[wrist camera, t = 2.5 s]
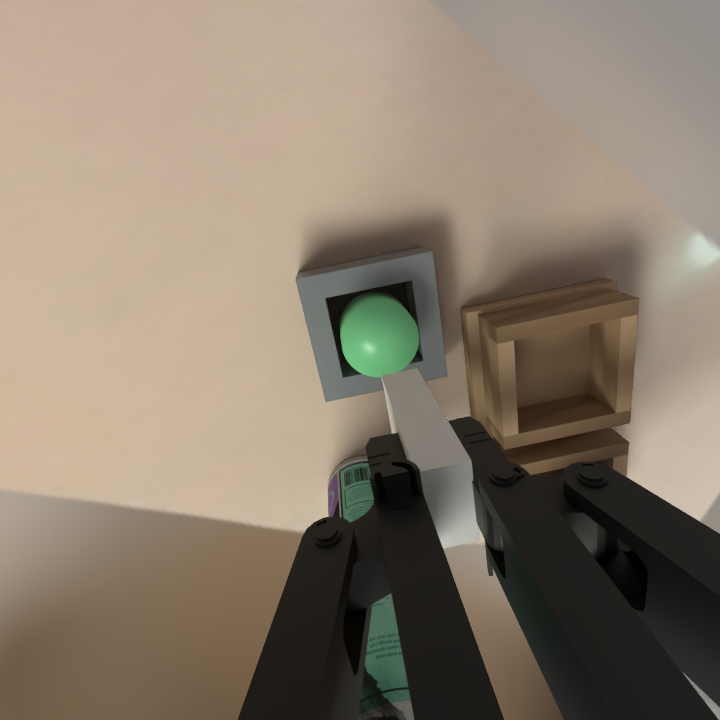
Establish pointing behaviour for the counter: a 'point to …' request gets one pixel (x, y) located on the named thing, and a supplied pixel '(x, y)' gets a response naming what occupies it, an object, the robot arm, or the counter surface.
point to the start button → (378, 334)
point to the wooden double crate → (554, 374)
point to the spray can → (373, 608)
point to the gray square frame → (361, 276)
